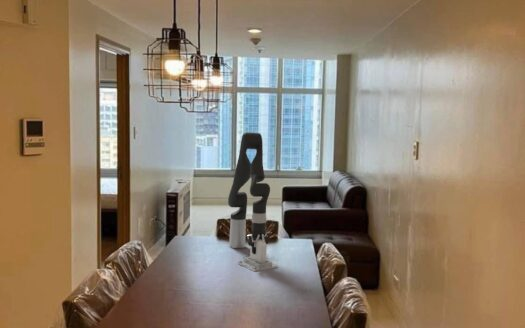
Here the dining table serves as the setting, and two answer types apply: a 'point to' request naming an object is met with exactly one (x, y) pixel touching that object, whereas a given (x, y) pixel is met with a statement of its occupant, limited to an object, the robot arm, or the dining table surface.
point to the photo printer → (259, 252)
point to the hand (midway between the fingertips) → (258, 253)
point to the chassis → (257, 264)
